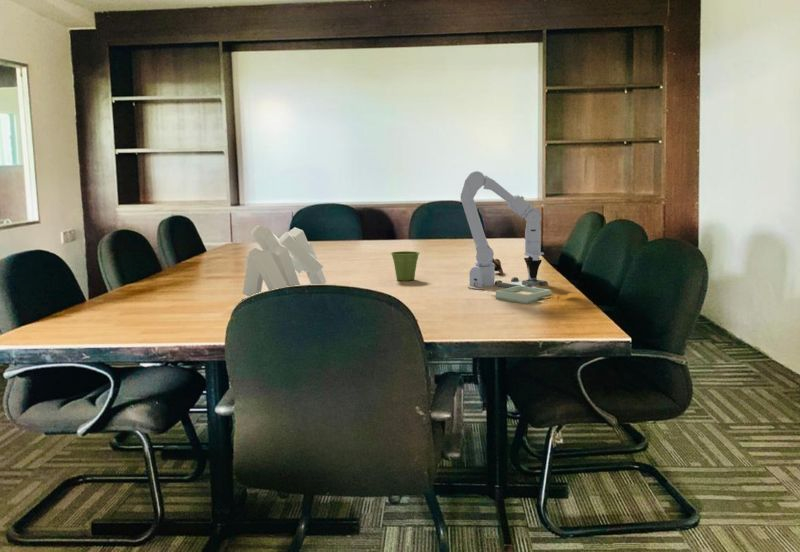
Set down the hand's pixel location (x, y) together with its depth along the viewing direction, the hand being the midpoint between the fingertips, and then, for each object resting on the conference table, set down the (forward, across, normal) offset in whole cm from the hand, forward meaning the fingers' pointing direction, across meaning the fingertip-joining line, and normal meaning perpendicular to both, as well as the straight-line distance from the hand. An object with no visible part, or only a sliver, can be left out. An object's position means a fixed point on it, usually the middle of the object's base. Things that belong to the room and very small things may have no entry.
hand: (532, 277), depth 279 cm
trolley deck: (+4, 0, +4) cm, 6 cm away
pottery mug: (+5, +38, +11) cm, 40 cm away
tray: (+4, -20, +6) cm, 22 cm away
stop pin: (+2, 0, 0) cm, 2 cm away
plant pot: (+5, +26, +48) cm, 55 cm away
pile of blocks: (+5, -8, +92) cm, 92 cm away
